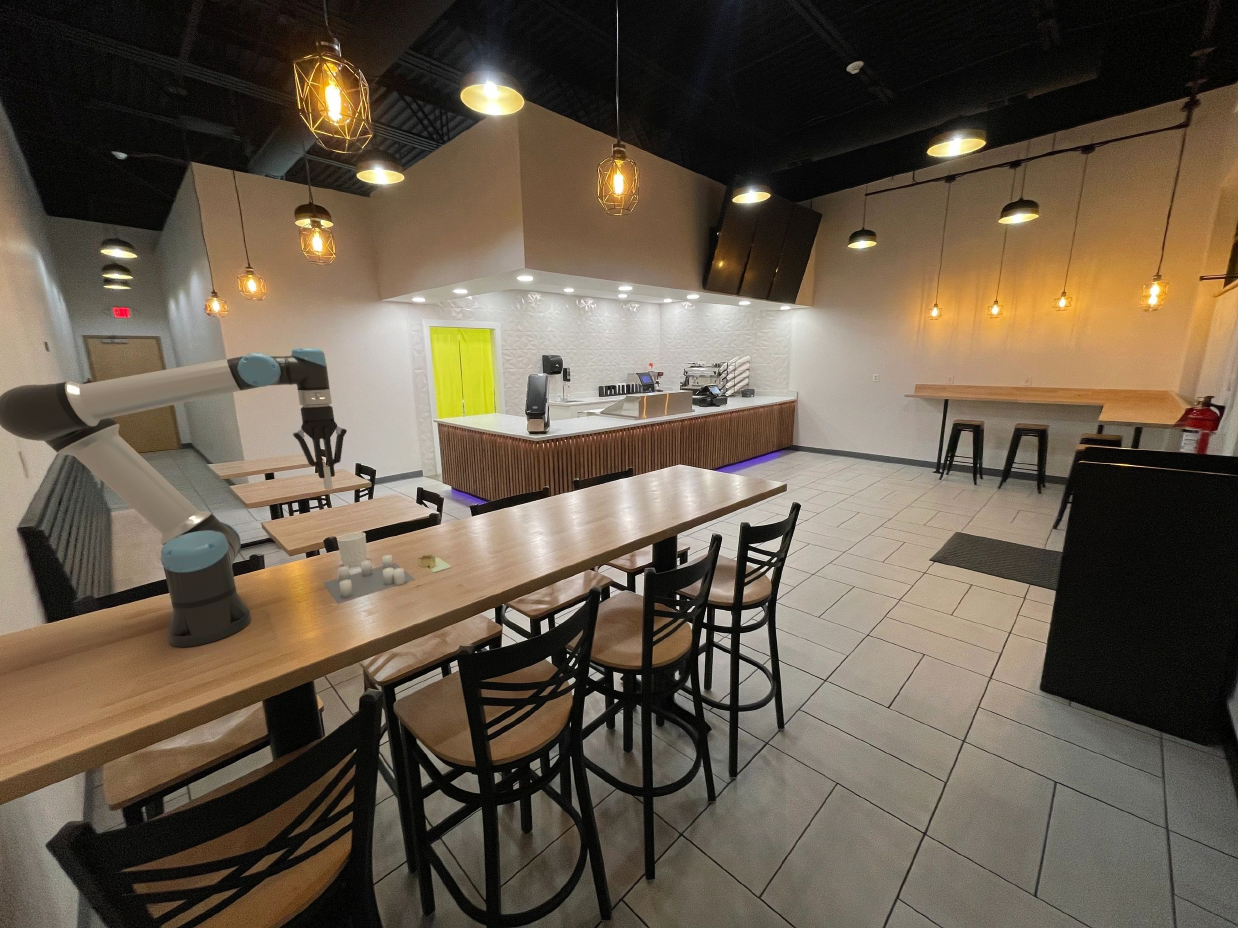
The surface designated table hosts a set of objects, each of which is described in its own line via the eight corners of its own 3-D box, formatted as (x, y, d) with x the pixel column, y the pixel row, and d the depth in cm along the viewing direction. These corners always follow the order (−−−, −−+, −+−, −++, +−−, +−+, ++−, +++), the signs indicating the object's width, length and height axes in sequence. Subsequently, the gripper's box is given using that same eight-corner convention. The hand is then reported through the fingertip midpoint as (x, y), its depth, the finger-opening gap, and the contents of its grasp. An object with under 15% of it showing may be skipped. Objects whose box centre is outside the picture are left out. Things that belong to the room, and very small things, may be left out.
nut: (423, 571, 145) (422, 561, 144) (417, 566, 148) (416, 557, 148) (437, 566, 147) (436, 557, 147) (431, 562, 151) (430, 553, 151)
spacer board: (338, 608, 123) (336, 589, 122) (323, 586, 136) (320, 569, 135) (416, 583, 136) (414, 567, 135) (395, 566, 150) (393, 550, 149)
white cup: (348, 572, 146) (343, 542, 144) (337, 567, 150) (332, 537, 148) (373, 564, 152) (369, 534, 150) (362, 559, 156) (358, 530, 154)
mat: (412, 579, 139) (412, 578, 139) (400, 568, 147) (399, 568, 147) (451, 567, 147) (451, 566, 147) (437, 558, 155) (437, 557, 155)
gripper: (290, 408, 123) (304, 495, 127) (346, 404, 131) (357, 486, 136) (285, 407, 128) (299, 490, 133) (339, 403, 137) (350, 482, 141)
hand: (328, 488), depth 134 cm, fingers closed
